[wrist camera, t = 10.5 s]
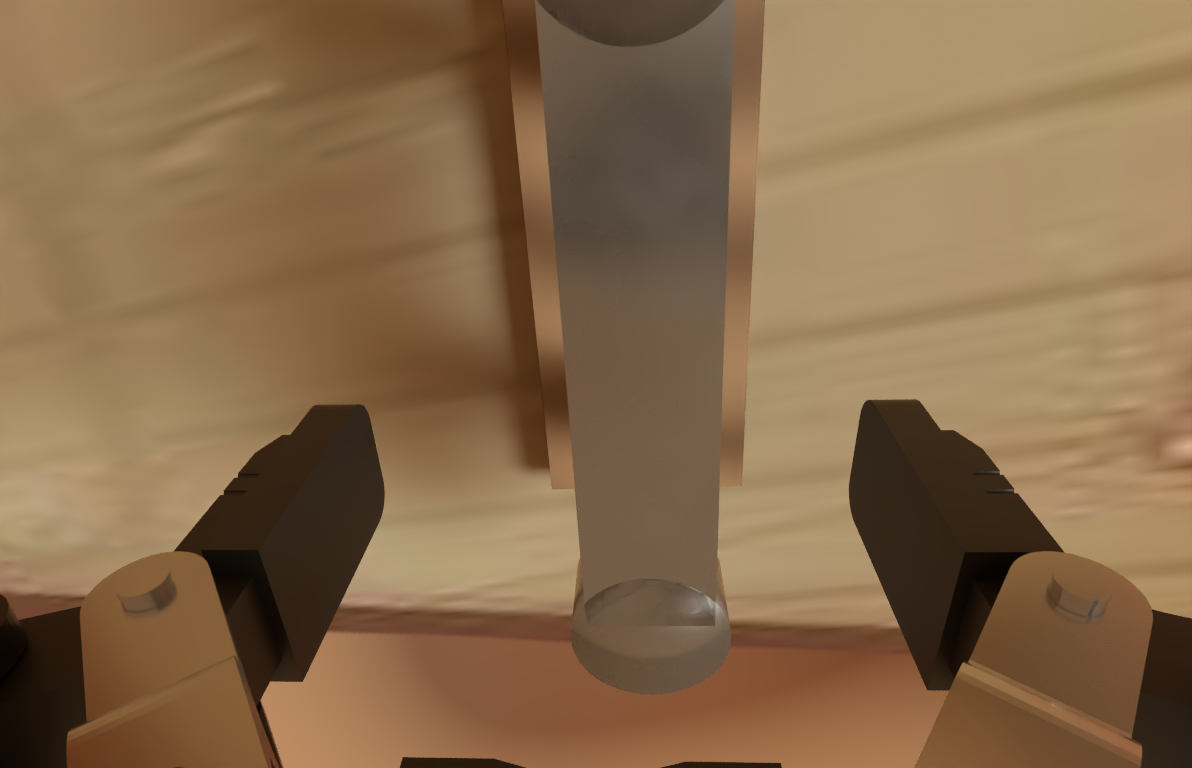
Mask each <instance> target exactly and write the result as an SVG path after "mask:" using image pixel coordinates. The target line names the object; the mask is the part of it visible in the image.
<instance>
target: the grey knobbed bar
mask: <svg viewBox="0 0 1192 768" xmlns="http://www.w3.org/2000/svg"><path fill="white" fill-rule="evenodd" d="M535 8H536V20H537V32H538V44H539V57H540V69H541V81H542V93H543V105H544V118H545V130H546V142H547V154H548V166H549V179H550V191H551V203H552V215H553V227H554V239H555V252H556V264H557V276H558V288H559V300H560V313H561V325H562V337H563V349H564V361H565V374H566V386H567V398H568V410H569V422H570V434H571V447H572V459H573V471H574V483H575V495H576V508H577V520H578V532H579V544H580V556H581V557H580V560H579V563H578V569H577V579H576V589H575V599H574V609H573V619H572V629H571V641H572V647H573V650H574V652H575V655H576V656H577V658H578V660H579V661H580V663H581V664H582V665H583V667H584V668H585V669H586V670H588V672H589V673H591V674H592V675H593V676H594V677H596V678H597V679H599V680H600V681H602V682H604V683H606V684H608V685H610V686H612V687H615V688H618V689H621V690H624V691H629V692H633V693H640V694H663V693H672V692H676V691H680V690H684V689H687V688H689V687H692V686H694V685H696V684H698V683H700V682H702V681H703V680H705V679H707V678H708V677H709V676H711V675H712V674H713V673H714V672H715V671H716V670H717V669H718V668H719V667H720V666H721V664H722V663H723V662H724V660H725V658H726V656H727V654H728V651H729V649H730V644H731V630H730V624H729V617H728V611H727V605H726V598H725V592H724V586H723V579H722V573H721V567H720V563H719V559H718V557H717V547H718V516H719V485H720V454H721V422H722V391H723V360H724V329H725V298H726V266H727V235H728V204H729V173H730V141H731V110H732V79H733V48H734V17H735V0H535Z"/></svg>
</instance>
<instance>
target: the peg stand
mask: <svg viewBox="0 0 1192 768" xmlns="http://www.w3.org/2000/svg"><path fill="white" fill-rule="evenodd" d="M502 5H503V15H504V25H505V35H506V45H507V54H508V64H509V74H510V84H511V94H512V103H513V113H514V123H515V133H516V143H517V152H518V162H519V172H520V182H521V191H522V201H523V211H524V221H525V231H526V240H527V250H528V260H529V270H530V280H531V289H532V299H533V309H534V319H535V329H536V338H537V348H538V358H539V368H540V378H541V387H542V397H543V407H544V417H545V426H546V436H547V446H548V456H549V466H550V475H551V485H552V489H575V483H574V471H573V459H572V447H571V434H570V422H569V410H568V398H567V386H566V374H565V361H564V349H563V337H562V325H561V313H560V300H559V288H558V276H557V264H556V252H555V239H554V227H553V215H552V203H551V191H550V179H549V166H548V154H547V142H546V130H545V118H544V105H543V93H542V81H541V69H540V57H539V44H538V32H537V20H536V8H535V0H502ZM764 8H765V0H735V17H734V48H733V79H732V110H731V141H730V173H729V204H728V235H727V266H726V298H725V329H724V360H723V391H722V422H721V454H720V485H719V486H742V469H743V448H744V427H745V406H746V385H747V364H748V343H749V322H750V301H751V280H752V259H753V238H754V217H755V196H756V175H757V154H758V133H759V112H760V91H761V70H762V50H763V29H764Z"/></svg>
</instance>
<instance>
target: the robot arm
mask: <svg viewBox="0 0 1192 768" xmlns="http://www.w3.org/2000/svg"><path fill="white" fill-rule="evenodd" d="M999 472H1000V470H999V469H998V468H997V467H996V465H995V464H994V463H993V462H992V460H991V459H990V458H989V457H988V455H987V454H986V453H985V451H984V450H983V449H982V448H980V447H979V446H977V445H976V444H974V443H973V442H971V441H970V440H968V439H966V438H965V437H963V436H962V435H960V434H959V433H957V432H956V431H954V430H940V428H939V427H938V426H937V424H936V423H935V421H934V420H933V419H932V417H931V416H930V415H929V413H928V412H927V411H926V409H925V408H924V406H923V405H922V404H921V403H920V401H918V400H915V399H913V400H867V401H866V402H865V403H864V405H863V407H862V410H861V414H860V420H859V426H858V432H857V438H856V445H855V451H854V457H853V463H852V469H851V475H850V482H849V500H850V508H851V513H852V517H853V520H854V522H855V525H856V527H857V529H858V532H859V534H860V536H861V539H862V541H863V543H864V546H865V548H866V550H867V552H868V555H869V557H870V559H871V562H872V564H873V566H874V569H875V571H876V573H877V575H878V578H879V580H880V582H881V585H882V587H883V589H884V592H885V594H886V596H887V599H888V601H889V603H890V605H891V608H892V610H893V612H894V615H895V617H896V619H897V622H898V624H899V626H900V628H901V631H902V633H903V635H904V638H905V640H906V642H907V645H908V647H909V649H910V652H911V654H912V656H913V658H914V661H915V663H916V665H917V667H918V670H919V672H920V674H921V677H922V679H923V681H924V684H925V686H926V688H927V690H949V693H948V695H947V697H946V699H945V701H944V704H943V706H942V708H941V710H940V713H939V715H938V717H937V719H936V721H935V723H934V726H933V728H932V730H931V732H930V734H929V737H928V739H927V741H926V743H925V746H924V748H923V750H922V752H921V754H920V757H919V759H918V761H917V764H916V766H915V768H1192V619H1191V618H1186V617H1182V616H1177V615H1172V614H1168V613H1164V612H1160V611H1156V610H1152V609H1151V606H1150V604H1149V603H1148V601H1147V599H1146V598H1145V596H1144V595H1143V594H1142V593H1141V592H1140V590H1139V589H1137V588H1136V587H1135V586H1134V585H1133V584H1132V583H1131V582H1130V581H1128V580H1127V579H1126V578H1124V577H1123V576H1121V575H1120V574H1118V573H1117V572H1115V571H1113V570H1112V569H1110V568H1108V567H1106V566H1104V565H1102V564H1100V563H1097V562H1095V561H1092V560H1090V559H1087V558H1083V557H1080V556H1077V555H1073V554H1068V553H1064V551H1063V550H1062V549H1061V547H1060V546H1059V545H1058V544H1057V542H1056V541H1055V540H1054V539H1053V537H1052V536H1051V535H1050V534H1049V532H1048V531H1047V530H1046V529H1045V527H1044V526H1043V525H1042V523H1041V522H1040V521H1039V520H1038V518H1037V517H1036V516H1035V515H1034V513H1033V512H1032V511H1031V510H1030V508H1029V507H1028V506H1027V505H1026V503H1025V502H1024V501H1023V499H1022V498H1021V497H1020V496H1019V494H1018V493H1014V488H1013V487H1012V486H1011V484H1010V483H1009V482H1008V481H1007V479H1006V478H1005V477H1004V475H1000V473H999ZM384 495H385V493H384V482H383V477H382V472H381V468H380V463H379V458H378V454H377V449H376V445H375V440H374V435H373V431H372V426H371V422H370V417H369V414H368V412H367V410H366V408H365V407H364V406H363V405H315V406H313V407H312V408H311V409H310V411H309V412H308V413H307V414H306V416H305V417H304V418H303V420H302V421H301V422H300V423H299V425H298V426H297V427H296V428H295V430H294V431H293V432H292V434H291V435H282V436H280V437H279V438H277V439H276V440H274V441H273V442H271V443H270V444H268V445H267V446H265V447H263V448H262V449H260V450H259V451H257V452H256V453H255V454H254V455H253V456H252V457H251V459H250V460H249V461H248V462H247V463H246V465H245V466H244V467H243V468H242V469H241V471H240V472H239V473H238V478H234V479H233V480H232V482H231V483H230V484H229V485H228V486H227V488H226V489H225V490H224V495H220V496H219V497H218V498H217V500H216V501H215V502H214V503H213V504H212V506H211V507H210V508H209V509H208V510H207V512H206V513H205V514H204V515H203V517H202V518H201V519H200V520H199V521H198V523H197V524H196V525H195V526H194V527H193V529H192V530H191V531H190V532H189V533H188V535H187V536H186V537H185V538H184V539H183V541H182V542H181V543H180V544H179V546H178V547H177V548H176V549H175V550H174V552H165V553H160V554H155V555H151V556H148V557H145V558H142V559H139V560H137V561H134V562H132V563H130V564H128V565H126V566H124V567H122V568H120V569H118V570H117V571H115V572H113V573H112V574H110V575H109V576H108V577H106V578H105V579H104V580H102V581H101V582H100V583H99V584H98V585H97V586H96V587H94V588H93V590H92V591H91V592H90V593H89V594H88V596H87V597H86V599H85V600H84V602H83V604H82V606H80V607H76V608H71V609H67V610H62V611H58V612H53V613H49V614H44V615H40V616H35V617H31V618H26V619H22V620H18V618H17V617H16V615H15V613H14V611H13V610H12V608H11V606H10V604H9V603H8V601H7V599H6V598H5V597H4V596H3V595H0V768H283V765H282V762H281V759H280V756H279V753H278V750H277V747H276V744H275V741H274V738H273V734H272V731H271V728H270V725H269V722H268V719H267V716H266V713H265V710H264V708H263V705H262V703H261V698H262V696H263V694H264V692H265V690H266V688H267V686H268V684H269V682H270V681H284V682H285V681H286V682H288V681H289V682H290V681H291V682H293V681H294V682H303V680H304V678H305V676H306V674H307V672H308V670H309V667H310V665H311V663H312V661H313V659H314V657H315V655H316V653H317V651H318V649H319V647H320V645H321V642H322V640H323V638H324V636H325V634H326V632H327V630H328V628H329V626H330V624H331V622H332V620H333V617H334V615H335V613H336V611H337V609H338V607H339V605H340V603H341V601H342V599H343V597H344V595H345V592H346V590H347V588H348V586H349V584H350V582H351V580H352V578H353V576H354V574H355V572H356V570H357V567H358V565H359V563H360V561H361V559H362V557H363V555H364V553H365V551H366V549H367V547H368V544H369V542H370V540H371V538H372V536H373V534H374V532H375V530H376V528H377V526H378V524H379V522H380V519H381V516H382V512H383V507H384ZM400 768H524V767H521V766H518V765H514V764H510V763H507V762H503V761H500V760H496V759H474V758H471V759H470V758H408V757H403V759H402V762H401V766H400ZM662 768H782V767H781V763H736V762H683V763H679V764H675V765H670V766H666V767H662Z"/></svg>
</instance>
